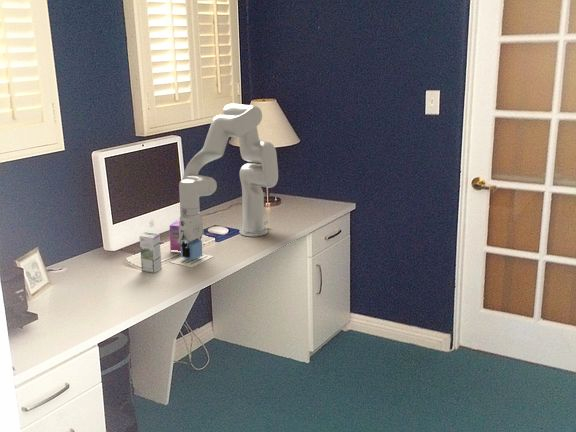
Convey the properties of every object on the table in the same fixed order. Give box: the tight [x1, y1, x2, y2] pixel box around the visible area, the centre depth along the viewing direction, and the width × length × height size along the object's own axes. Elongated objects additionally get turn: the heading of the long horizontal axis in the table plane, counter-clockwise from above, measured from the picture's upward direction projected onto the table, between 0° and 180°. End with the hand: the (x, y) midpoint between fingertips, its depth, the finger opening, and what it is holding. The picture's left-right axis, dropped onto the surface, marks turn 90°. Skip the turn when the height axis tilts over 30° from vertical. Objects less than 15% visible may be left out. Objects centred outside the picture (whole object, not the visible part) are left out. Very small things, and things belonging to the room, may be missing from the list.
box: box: [169, 217, 186, 251], centre depth 279 cm, size 10×6×12 cm, turn 165°
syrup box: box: [139, 231, 162, 274], centre depth 255 cm, size 6×6×14 cm
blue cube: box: [180, 240, 203, 260], centre depth 267 cm, size 6×6×6 cm
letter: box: [169, 253, 214, 268], centre depth 268 cm, size 14×11×1 cm
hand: (191, 254), depth 267 cm, fingers closed on blue cube, 6 cm apart
